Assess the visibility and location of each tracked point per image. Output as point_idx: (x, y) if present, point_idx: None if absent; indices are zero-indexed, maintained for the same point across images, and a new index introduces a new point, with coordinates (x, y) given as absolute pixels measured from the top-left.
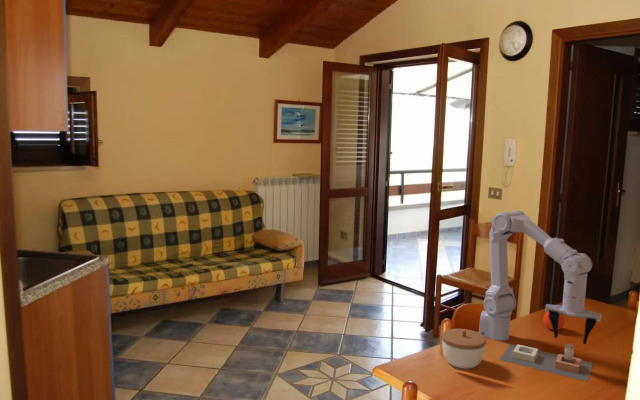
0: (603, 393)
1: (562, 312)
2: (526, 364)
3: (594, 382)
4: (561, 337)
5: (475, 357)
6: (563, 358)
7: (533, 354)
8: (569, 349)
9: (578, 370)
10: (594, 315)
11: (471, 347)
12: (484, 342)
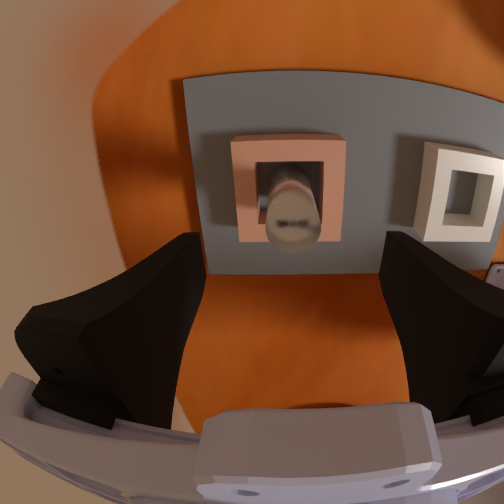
0: (128, 55)
1: (476, 436)
2: (447, 106)
3: (171, 123)
4: (328, 392)
5: None
6: None
7: (442, 169)
8: (288, 198)
9: (233, 139)
10: (11, 437)
11: None
12: None
